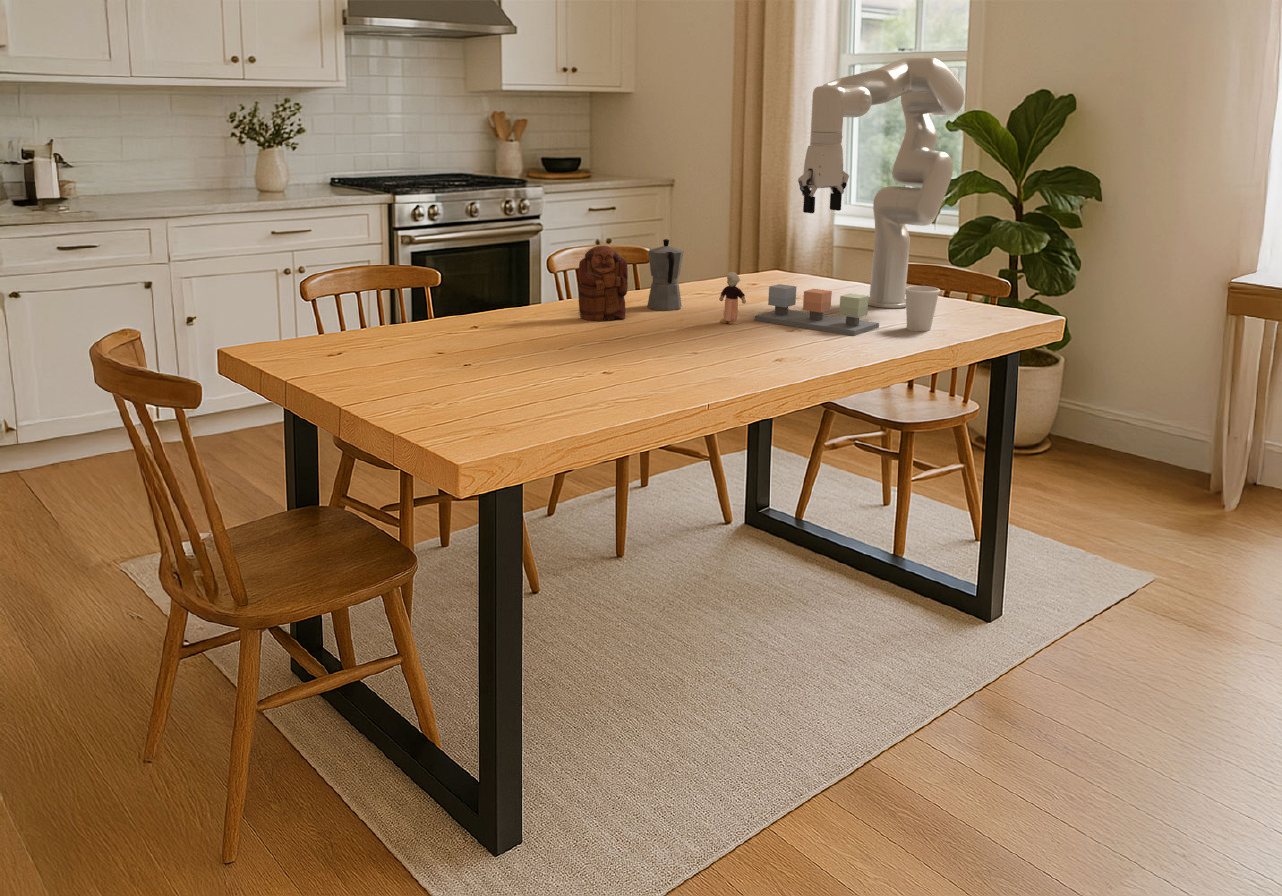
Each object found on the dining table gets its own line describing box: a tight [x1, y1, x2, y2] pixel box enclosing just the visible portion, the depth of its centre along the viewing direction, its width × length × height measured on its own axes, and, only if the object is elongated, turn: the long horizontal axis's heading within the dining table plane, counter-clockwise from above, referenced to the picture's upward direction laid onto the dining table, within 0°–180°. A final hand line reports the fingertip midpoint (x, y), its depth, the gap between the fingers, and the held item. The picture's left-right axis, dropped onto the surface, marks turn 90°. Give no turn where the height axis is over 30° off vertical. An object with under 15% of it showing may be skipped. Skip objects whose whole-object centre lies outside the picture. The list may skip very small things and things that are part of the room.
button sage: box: [838, 293, 870, 318], centre depth 263 cm, size 5×5×5 cm
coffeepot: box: [646, 238, 685, 312], centre depth 284 cm, size 15×9×18 cm, turn 9°
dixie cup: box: [905, 285, 941, 332], centre depth 266 cm, size 8×8×10 cm
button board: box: [753, 306, 880, 336], centre depth 270 cm, size 13×28×3 cm, turn 52°
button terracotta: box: [802, 288, 833, 313], centre depth 269 cm, size 5×5×5 cm
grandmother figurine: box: [719, 271, 747, 325], centre depth 268 cm, size 8×4×13 cm, turn 62°
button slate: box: [767, 283, 797, 308], centre depth 275 cm, size 5×5×5 cm
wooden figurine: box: [578, 245, 629, 322], centre depth 269 cm, size 12×6×18 cm, turn 107°
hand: (822, 211), depth 269 cm, fingers open, 9 cm apart
